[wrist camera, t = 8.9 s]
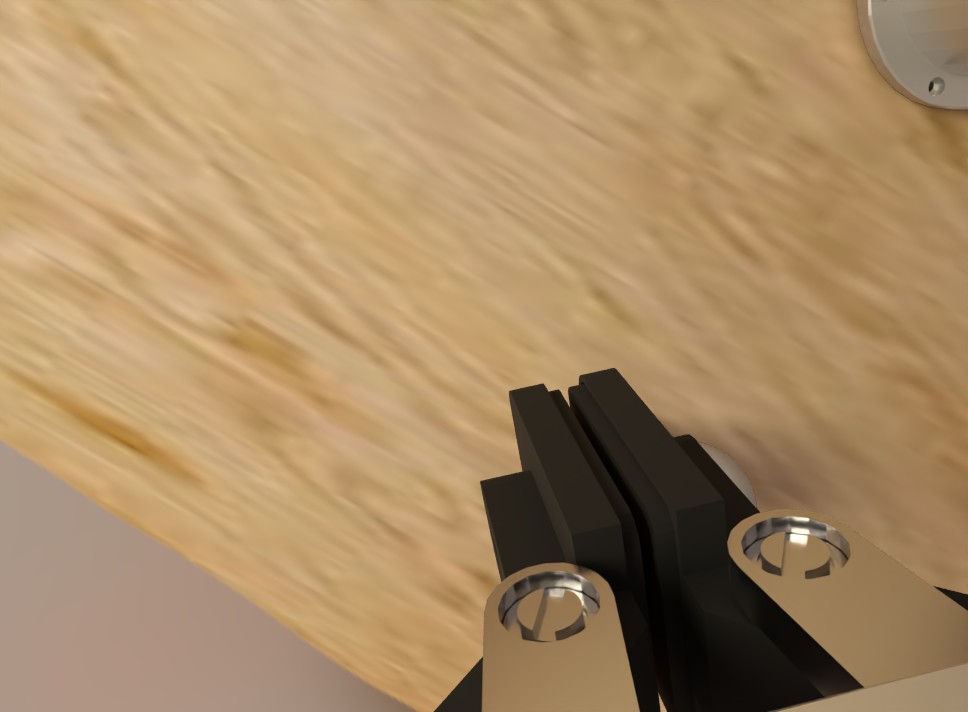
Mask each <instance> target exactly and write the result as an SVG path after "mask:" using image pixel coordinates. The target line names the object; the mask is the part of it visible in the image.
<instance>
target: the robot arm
mask: <svg viewBox="0 0 968 712" xmlns="http://www.w3.org/2000/svg"><path fill="white" fill-rule="evenodd" d="M857 10H858V17H859V24H860V31H861V34H862V36H863V39H864V42H865V45H866V48H867V51H868V54H869V56H870V57H871V59H872V61H873V63H874V64H875V66H876V68H877V69H878V71H879V73H880V74H881V75H882V76H883V77H884V78H885V79H886V80H887V82H888V83H889V84H890V85H891V86H892V87H893V88H894V89H895V90H897V91H898V92H900V93H901V94H903V95H904V96H906V97H907V98H909V99H910V100H912V101H915V102H918V103H920V104H923V105H926V106H929V107H933V108H943V109H968V0H857ZM568 395H569V402H570V407H569V405H568V404H567V402H566V400H565V399H564V397H563V395H562V393H561V392H560V390H554V391H550V392H548V390H547V388H546V387H545V385H544V384H539V385H534V386H529V387H525V388H520V389H516V390H511V391H509V398H510V405H511V410H512V416H513V421H514V427H515V432H516V438H517V443H518V449H519V454H520V460H521V465H522V471H523V472H518V473H514V474H510V475H505V476H501V477H496V478H492V479H487V480H483V481H480V484H481V489H482V495H483V500H484V504H485V509H486V514H487V519H488V524H489V528H490V533H491V538H492V543H493V547H494V552H495V556H496V561H497V565H498V569H499V574H500V578H501V583H500V584H499V585H497V586H496V587H495V589H494V590H493V592H492V593H491V595H490V596H489V597H488V599H487V603H486V607H485V611H484V636H483V657H482V658H481V659H480V660H479V662H478V663H477V664H476V665H475V666H474V667H473V668H472V669H471V671H470V672H469V673H468V674H467V675H466V676H465V677H464V678H463V680H462V681H461V682H460V683H459V684H458V685H457V686H456V687H455V689H454V690H453V691H452V692H451V693H450V694H449V695H448V696H447V698H446V699H445V700H444V701H443V702H442V703H441V704H440V705H439V706H438V708H437V709H436V710H435V711H434V712H661V711H660V703H659V695H660V697H661V699H662V702H663V704H664V706H665V708H666V710H667V712H968V595H967V594H963V593H959V592H955V591H951V590H947V589H943V588H939V587H935V586H932V585H931V584H929V583H928V582H926V581H925V580H924V579H922V578H921V577H919V576H918V575H917V574H915V573H914V572H912V571H911V570H910V569H908V568H907V567H905V566H904V565H903V564H901V563H900V562H898V561H897V560H896V559H894V558H893V557H891V556H890V555H889V554H887V553H886V552H884V551H883V550H882V549H880V548H879V547H877V546H876V545H875V544H873V543H872V542H870V541H869V540H868V539H866V538H865V537H863V536H862V535H860V534H859V533H858V532H856V531H855V530H853V529H852V528H851V527H849V526H847V525H846V524H844V523H842V522H840V521H838V520H836V519H835V518H833V517H829V516H826V515H823V514H820V513H816V512H813V511H805V510H797V509H783V510H771V511H766V512H762V513H760V512H759V510H758V509H757V508H756V507H755V506H754V505H753V504H752V503H751V501H750V500H749V499H748V498H747V497H746V496H745V495H744V494H743V492H742V491H741V490H740V489H739V488H738V487H737V486H736V485H735V483H734V482H733V481H732V480H731V479H730V478H729V477H728V476H727V474H726V473H725V472H724V471H723V470H722V469H721V468H720V467H719V465H718V464H717V463H716V462H715V461H714V460H713V459H712V458H711V456H710V455H709V454H708V453H707V452H706V451H705V450H704V449H703V447H702V446H701V445H700V444H699V443H698V442H697V441H696V440H695V438H693V437H692V436H691V435H682V436H678V437H672V436H671V435H670V433H669V432H668V431H667V430H666V429H665V427H664V426H663V425H662V424H661V423H660V421H659V420H658V419H657V418H656V417H655V415H654V414H653V413H652V412H651V410H650V409H649V408H648V407H647V406H646V404H645V403H644V402H643V401H642V400H641V398H640V397H639V396H638V395H637V394H636V392H635V391H634V390H633V389H632V388H631V386H630V385H629V384H628V383H627V382H626V380H625V379H624V378H623V377H622V376H621V374H620V373H619V372H618V371H617V370H616V369H615V368H612V369H607V370H602V371H598V372H593V373H589V374H584V375H580V377H579V385H577V386H572V387H569V389H568ZM658 693H659V695H658Z"/></svg>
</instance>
